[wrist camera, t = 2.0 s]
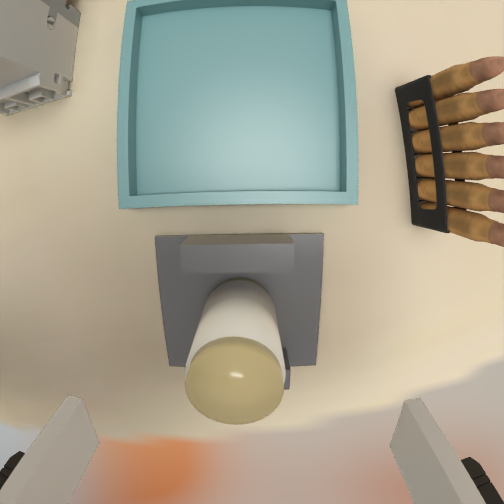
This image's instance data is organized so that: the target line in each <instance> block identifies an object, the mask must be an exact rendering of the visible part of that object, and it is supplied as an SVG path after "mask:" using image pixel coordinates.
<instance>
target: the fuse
mask: <svg viewBox="0 0 504 504" xmlns="http://www.w3.org/2000/svg"><path fill="white" fill-rule="evenodd" d="M185 373H186V382H185V389H186V393H187V396H188V398H189V400H190V402H191V403H192V405H193V406H194V407H195V408H196V409H197V410H198V411H199V412H200V413H202V414H203V415H205V416H206V417H208V418H210V419H212V420H215V421H218V422H221V423H226V424H247V423H252V422H255V421H258V420H261V419H263V418H265V417H266V416H268V415H269V414H270V413H272V412H273V411H274V410H275V409H276V408H277V406H278V405H279V404H280V402H281V400H282V397H283V392H284V382H285V377H286V370H285V364H284V358H283V352H282V346H281V341H280V335H279V329H278V324H277V318H276V312H275V307H274V303H273V301H272V299H271V297H270V296H269V294H268V293H267V291H266V290H265V289H264V288H263V287H262V286H261V285H260V284H259V283H257V282H255V281H253V280H250V279H247V278H233V279H229V280H227V281H224V282H223V283H221V284H220V285H219V286H217V288H216V289H215V290H214V291H213V292H212V293H211V294H210V295H209V297H208V299H207V301H206V304H205V307H204V310H203V313H202V316H201V319H200V322H199V325H198V328H197V331H196V334H195V337H194V340H193V343H192V347H191V350H190V353H189V356H188V359H187V362H186V368H185Z"/></svg>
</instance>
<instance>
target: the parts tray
mask: <svg viewBox="0 0 504 504" xmlns="http://www.w3.org/2000/svg"><path fill="white" fill-rule="evenodd" d="M117 171H118V196H119V209H127V208H146V207H167V206H193V205H230V204H355V205H358V124H357V102H356V85H355V71H354V59H353V49H352V39H351V30H350V22H349V14H348V7H347V0H132V1H127V6H126V13H125V21H124V29H123V38H122V47H121V58H120V71H119V87H118V112H117Z"/></svg>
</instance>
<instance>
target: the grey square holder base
mask: <svg viewBox="0 0 504 504" xmlns="http://www.w3.org/2000/svg"><path fill="white" fill-rule="evenodd" d="M323 243H324V234H323V233H269V234H207V235H163V236H155V246H156V258H157V270H158V280H159V290H160V299H161V307H162V316H163V324H164V331H165V338H166V345H167V352H168V359H169V365H170V366H180V367H186V362H187V359H188V356H189V353H190V350H191V347H192V343H193V340H194V337H195V334H196V331H197V328H198V325H199V322H200V319H201V316H202V313H203V310H204V307H205V304H206V301H207V299H208V297H209V295H210V294H211V293H212V292H213V291H214V290H215V289H216V288H217V286H219V285H220V284H221V283H223V282H224V281H227V280H229V279H233V278H247V279H250V280H253V281H255V282H257V283H259V284H260V285H261V286H262V287H263V288H264V289H265V290H266V291H267V293H268V294H269V296H270V297H271V299H272V301H273V303H274V307H275V312H276V318H277V324H278V329H279V335H280V341H281V346H282V352H283V358H284V364H285V370H286V377H285V382H284V390H286V389H289V386H290V367H291V366H310V365H316V356H317V345H318V332H319V319H320V304H321V288H322V268H323Z"/></svg>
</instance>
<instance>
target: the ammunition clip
mask: <svg viewBox="0 0 504 504" xmlns="http://www.w3.org/2000/svg"><path fill="white" fill-rule="evenodd" d="M503 71H504V57H486V58H482V59H479V60H476V61H473V62H469V63H466V64H460V65H455V66H452V67H450V68H448V69H446V70H443V71H441V72H439V73H437V74H435V75H433V76H431V75H427V76H424V77H422V78H419V79H417V80H414V81H412V82H409V83H407V84H404V85H402V86H399V87H397V88H396V90H395V92H396V97H397V103H398V108H399V113H400V119H401V125H402V132H403V138H404V145H405V153H406V161H407V170H408V179H409V190H410V203H411V219H412V224H413V225H416V226H420V227H424V228H428V229H432V230H436V231H440V232H444V233H450V232H451V233H454V234H457V235H460V236H463V237H465V238H468V239H471V240H474V241H481V242H488V243H491V244H496V245H499V246H503V247H504V224H502V223H499V222H497V221H494V220H491V219H489V218H488V217H486V216H484V215H482V214H479V213H475V212H470V211H466V209H469V210H474V211H494V212H501V213H504V190H498V189H495V188H490V187H487V186H485V185H483V184H479V183H472V182H465V179H466V180H482V179H485V178H491V179H494V178H504V156H494V155H484V154H481V153H477V152H462V151H466V150H476V149H480V148H482V147H486V146H492V145H501V144H504V123H503V122H494V123H475V122H468V123H462V124H458V122H463V121H468V120H473V119H475V118H477V117H479V116H481V115H484V114H488V113H490V112H495V111H499V110H501V109H504V89H492V90H486V91H480V92H475V93H462V92H465V91H468V90H470V89H471V88H472V87H474V86H475V85H477V84H480V83H482V82H484V81H487V80H489V79H492V78H494V77H496V76H498V75H499V74H501V73H502V72H503ZM459 93H461V94H459ZM456 94H458V95H456ZM453 95H455V96H453ZM443 125H449V126H444V127H439V126H443ZM451 151H452V153H442V152H451ZM445 178H452V179H455V181H452V180H445ZM447 205H450V206H454V207H449V206H447Z"/></svg>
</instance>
